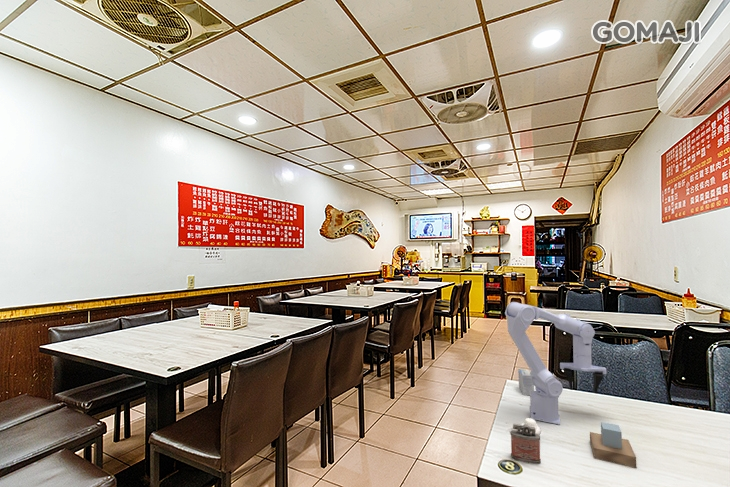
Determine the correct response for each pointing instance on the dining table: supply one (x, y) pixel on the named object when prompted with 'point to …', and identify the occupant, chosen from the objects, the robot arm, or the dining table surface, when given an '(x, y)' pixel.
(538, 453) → the lighter
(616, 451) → the walnut block
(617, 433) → the slate cube
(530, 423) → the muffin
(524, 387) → the medicine box
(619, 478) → the dining table surface
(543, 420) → the robot arm
